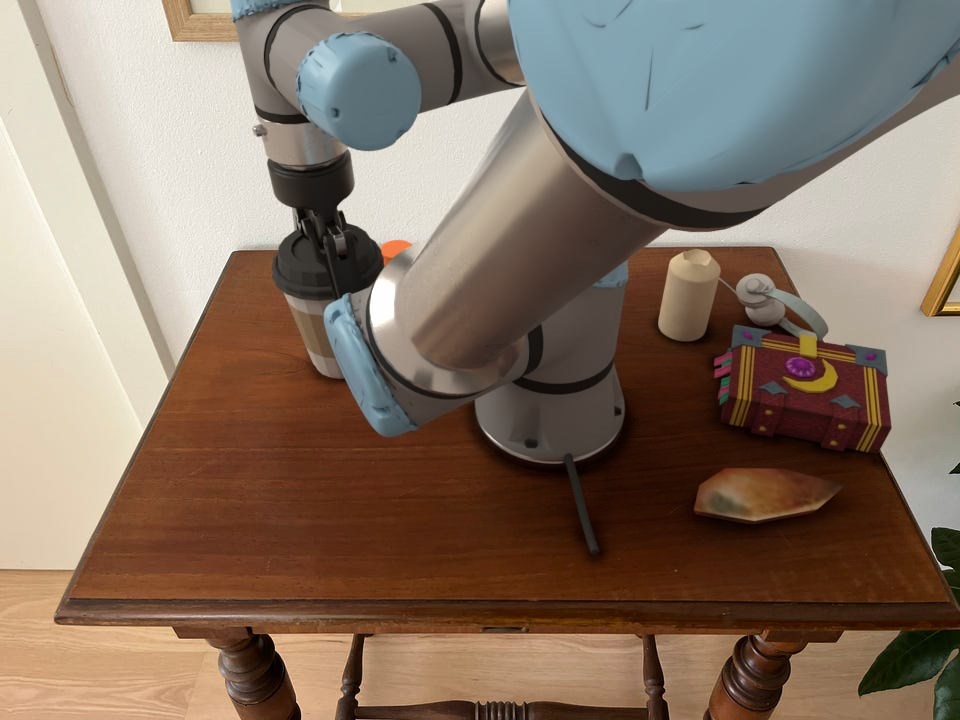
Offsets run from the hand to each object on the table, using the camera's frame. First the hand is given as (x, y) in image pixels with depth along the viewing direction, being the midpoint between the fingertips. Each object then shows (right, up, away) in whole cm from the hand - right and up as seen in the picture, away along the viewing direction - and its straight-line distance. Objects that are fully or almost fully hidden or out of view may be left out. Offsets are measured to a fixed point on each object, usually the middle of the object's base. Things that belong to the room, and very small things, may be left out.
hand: (342, 336), depth 80 cm
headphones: (+42, +10, +12) cm, 44 cm away
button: (+5, +10, +10) cm, 15 cm away
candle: (+39, +1, +5) cm, 39 cm away
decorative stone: (+41, -14, -16) cm, 46 cm away
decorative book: (+48, -7, -4) cm, 48 cm away
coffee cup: (0, -2, +2) cm, 3 cm away
